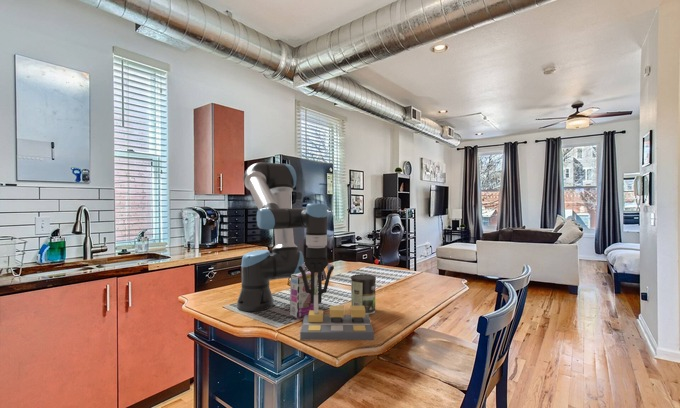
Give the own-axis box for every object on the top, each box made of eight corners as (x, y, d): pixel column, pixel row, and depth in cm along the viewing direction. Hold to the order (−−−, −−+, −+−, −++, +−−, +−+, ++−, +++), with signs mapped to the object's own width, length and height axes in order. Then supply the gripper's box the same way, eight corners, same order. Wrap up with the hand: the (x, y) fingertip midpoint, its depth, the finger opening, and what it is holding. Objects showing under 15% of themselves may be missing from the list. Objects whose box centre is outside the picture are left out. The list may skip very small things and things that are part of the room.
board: (300, 339, 103) (300, 331, 103) (304, 321, 119) (304, 314, 119) (373, 339, 103) (373, 331, 103) (368, 321, 119) (368, 314, 119)
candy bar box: (298, 319, 121) (298, 276, 121) (289, 316, 124) (289, 274, 124) (318, 311, 130) (318, 271, 130) (309, 309, 133) (309, 270, 133)
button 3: (351, 323, 111) (351, 310, 111) (350, 318, 116) (350, 305, 116) (365, 323, 111) (365, 310, 111) (364, 318, 116) (364, 305, 116)
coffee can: (376, 307, 135) (376, 274, 135) (374, 316, 125) (374, 280, 125) (352, 305, 138) (353, 273, 137) (348, 314, 127) (348, 279, 127)
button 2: (329, 323, 111) (329, 310, 111) (330, 318, 116) (330, 305, 116) (344, 323, 111) (344, 310, 111) (343, 318, 116) (343, 305, 116)
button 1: (308, 328, 111) (308, 315, 111) (309, 323, 116) (309, 310, 116) (322, 328, 111) (322, 315, 111) (323, 323, 116) (323, 310, 116)
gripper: (297, 247, 110) (296, 315, 110) (334, 247, 110) (334, 315, 110) (299, 244, 117) (299, 308, 117) (334, 245, 117) (334, 308, 117)
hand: (316, 312), depth 114 cm, fingers closed
